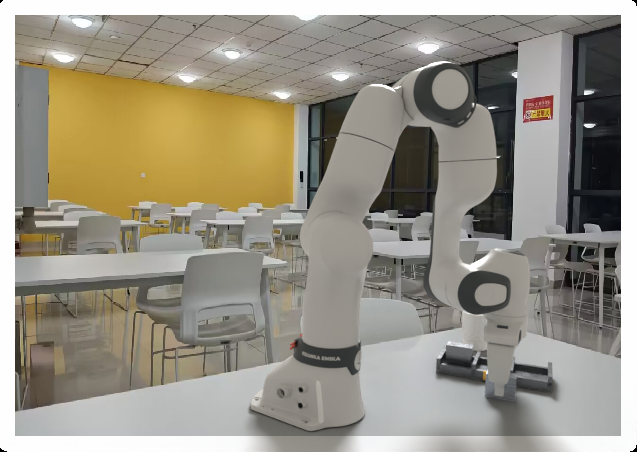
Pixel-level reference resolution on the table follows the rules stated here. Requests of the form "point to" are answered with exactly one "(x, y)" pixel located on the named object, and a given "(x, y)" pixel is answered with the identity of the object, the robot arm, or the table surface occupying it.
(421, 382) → the table surface
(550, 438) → the table surface
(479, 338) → the white cup
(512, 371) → the rack
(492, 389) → the grey upright block
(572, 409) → the table surface
